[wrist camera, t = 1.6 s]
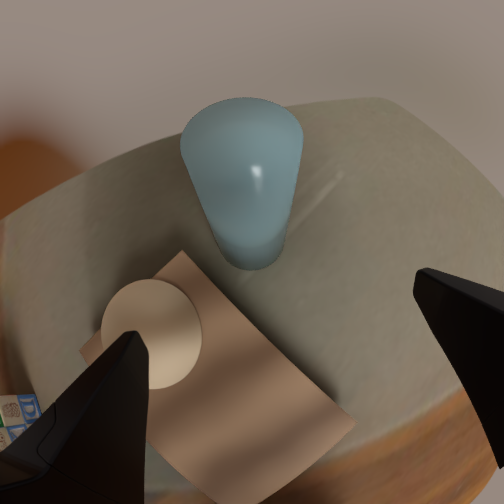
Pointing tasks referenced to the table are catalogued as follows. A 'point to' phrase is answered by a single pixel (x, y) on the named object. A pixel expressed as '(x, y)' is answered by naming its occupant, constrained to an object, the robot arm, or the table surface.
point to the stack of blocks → (16, 416)
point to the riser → (219, 388)
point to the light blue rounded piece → (245, 175)
